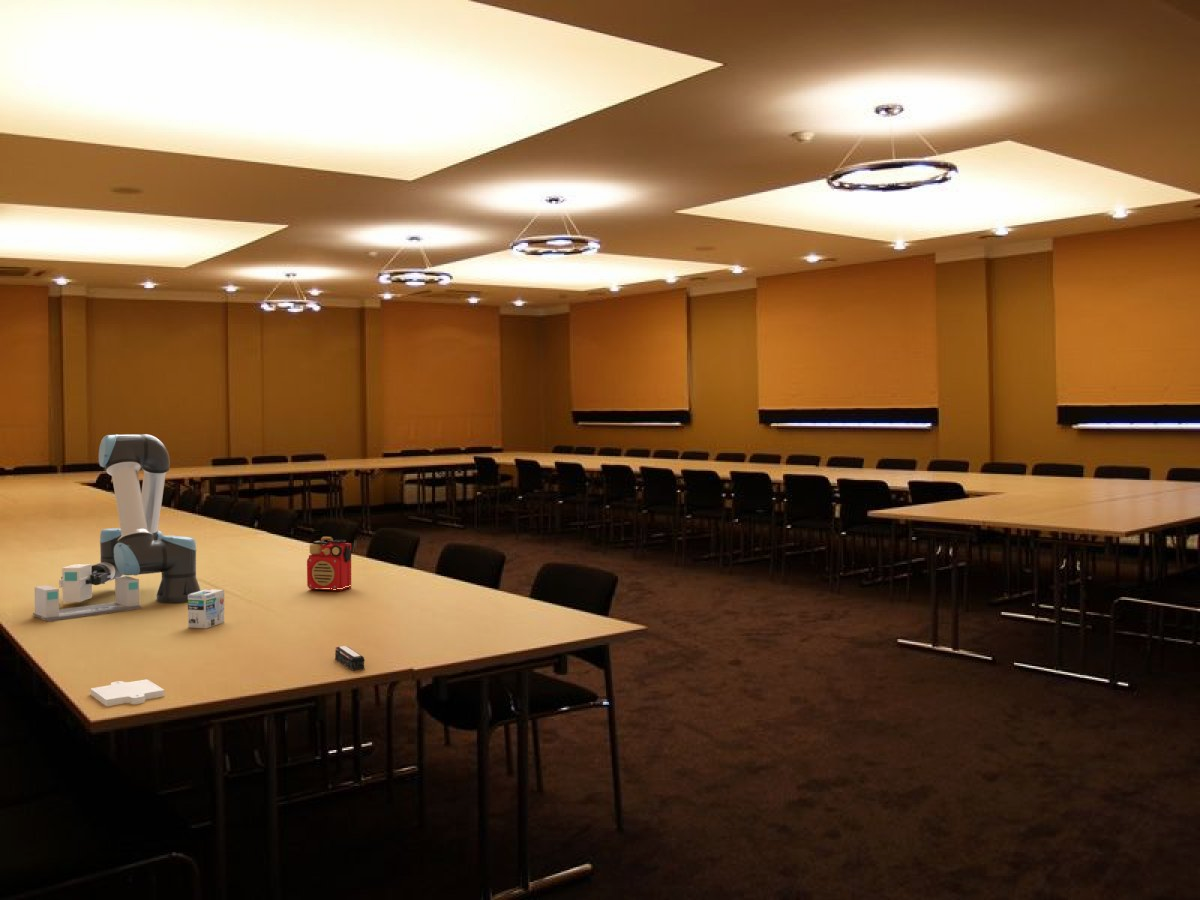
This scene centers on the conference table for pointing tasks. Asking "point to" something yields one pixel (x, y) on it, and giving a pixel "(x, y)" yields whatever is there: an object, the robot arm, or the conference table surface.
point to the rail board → (88, 611)
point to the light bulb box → (205, 608)
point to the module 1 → (46, 601)
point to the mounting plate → (126, 692)
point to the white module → (76, 583)
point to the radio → (329, 564)
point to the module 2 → (127, 591)
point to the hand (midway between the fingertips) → (70, 583)
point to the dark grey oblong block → (349, 658)
